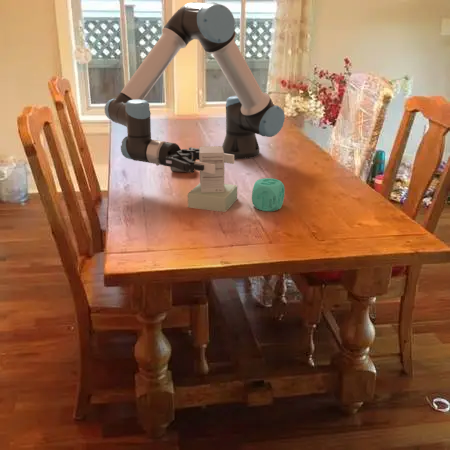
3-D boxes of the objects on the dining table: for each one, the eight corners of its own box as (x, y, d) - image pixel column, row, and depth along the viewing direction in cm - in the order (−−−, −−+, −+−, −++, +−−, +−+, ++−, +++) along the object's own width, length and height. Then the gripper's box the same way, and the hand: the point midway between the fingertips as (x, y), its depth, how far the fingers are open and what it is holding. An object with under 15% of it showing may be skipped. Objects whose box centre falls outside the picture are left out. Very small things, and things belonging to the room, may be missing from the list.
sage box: (201, 196, 186) (201, 180, 184) (237, 200, 183) (237, 184, 181) (188, 209, 176) (187, 193, 174) (225, 213, 172) (225, 197, 170)
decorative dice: (251, 209, 174) (251, 184, 171) (259, 200, 181) (260, 176, 178) (276, 213, 171) (277, 187, 168) (284, 204, 178) (285, 179, 175)
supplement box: (199, 185, 180) (198, 146, 175) (223, 184, 181) (223, 145, 176) (200, 193, 173) (199, 152, 169) (224, 192, 174) (224, 152, 169)
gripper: (185, 156, 193) (242, 166, 183) (142, 174, 175) (203, 186, 164) (184, 134, 190) (243, 143, 180) (141, 150, 172) (203, 161, 161)
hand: (224, 164), depth 172 cm, fingers open, 11 cm apart
